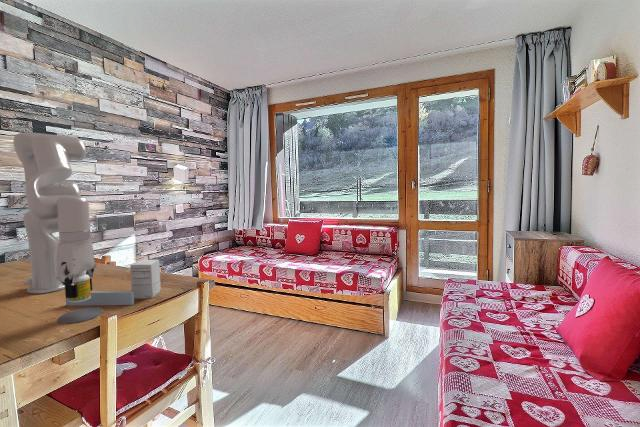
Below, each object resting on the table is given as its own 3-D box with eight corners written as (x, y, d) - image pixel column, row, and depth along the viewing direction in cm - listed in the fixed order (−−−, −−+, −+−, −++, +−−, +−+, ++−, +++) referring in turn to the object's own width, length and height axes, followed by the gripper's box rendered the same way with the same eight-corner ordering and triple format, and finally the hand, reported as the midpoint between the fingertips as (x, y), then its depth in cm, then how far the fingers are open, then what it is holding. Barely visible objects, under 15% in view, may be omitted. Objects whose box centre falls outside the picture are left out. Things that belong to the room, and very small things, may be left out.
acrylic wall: (66, 305, 104) (65, 293, 104) (69, 304, 105) (68, 291, 105) (132, 304, 105) (131, 292, 104) (134, 303, 106) (133, 291, 106)
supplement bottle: (79, 303, 92) (76, 272, 92) (64, 302, 94) (62, 271, 93) (95, 297, 98) (93, 267, 97) (81, 296, 99) (79, 266, 98)
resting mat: (48, 323, 90) (48, 322, 90) (76, 308, 101) (76, 307, 101) (86, 323, 91) (86, 322, 91) (110, 308, 102) (110, 307, 102)
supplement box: (141, 291, 118) (139, 259, 117) (161, 291, 118) (160, 259, 117) (131, 298, 110) (129, 264, 109) (152, 298, 111) (151, 264, 110)
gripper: (83, 232, 102) (87, 285, 104) (38, 241, 85) (43, 305, 87) (106, 232, 102) (109, 285, 104) (65, 241, 85) (70, 304, 87)
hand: (79, 293), depth 95 cm, fingers closed on supplement bottle, 5 cm apart
